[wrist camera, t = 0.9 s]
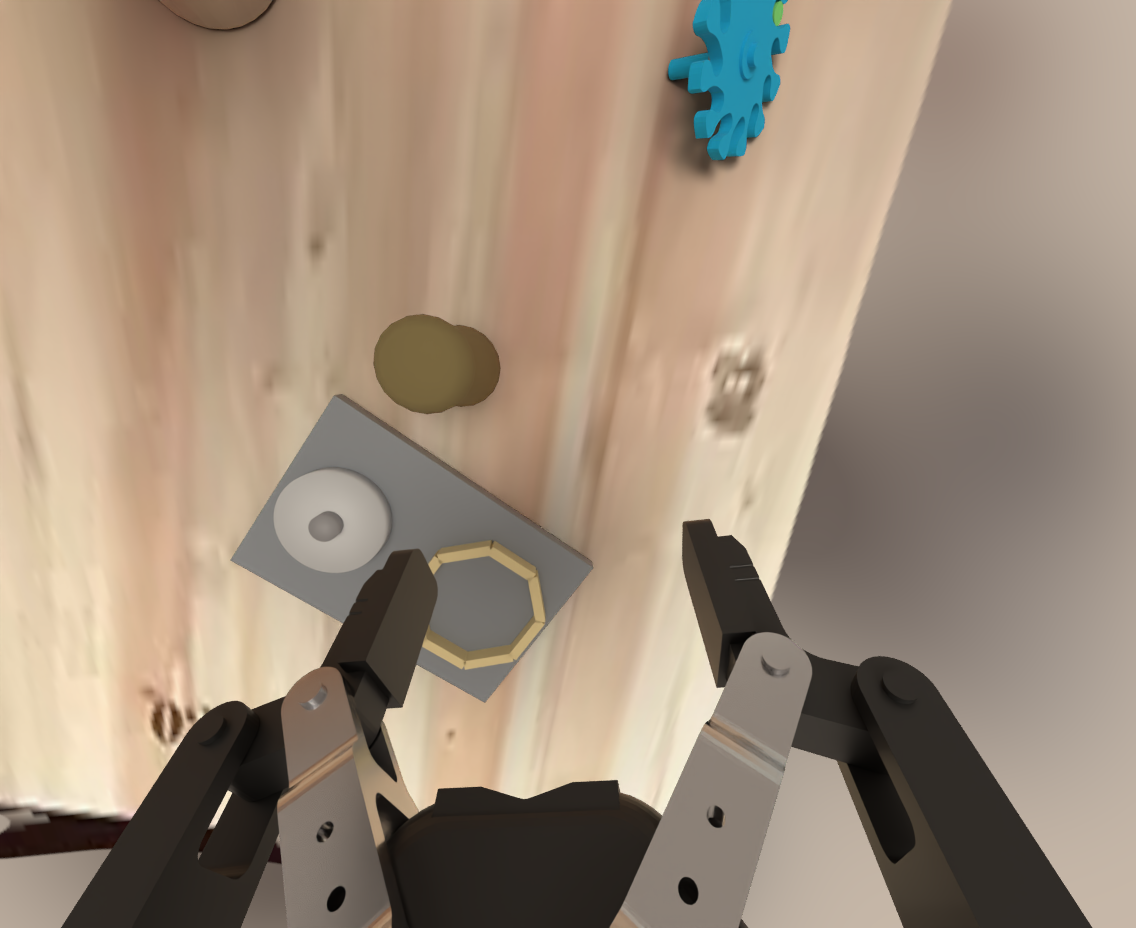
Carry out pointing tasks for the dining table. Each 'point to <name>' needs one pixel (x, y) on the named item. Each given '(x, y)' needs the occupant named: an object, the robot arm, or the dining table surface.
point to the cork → (435, 364)
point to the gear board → (411, 545)
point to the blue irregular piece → (734, 69)
